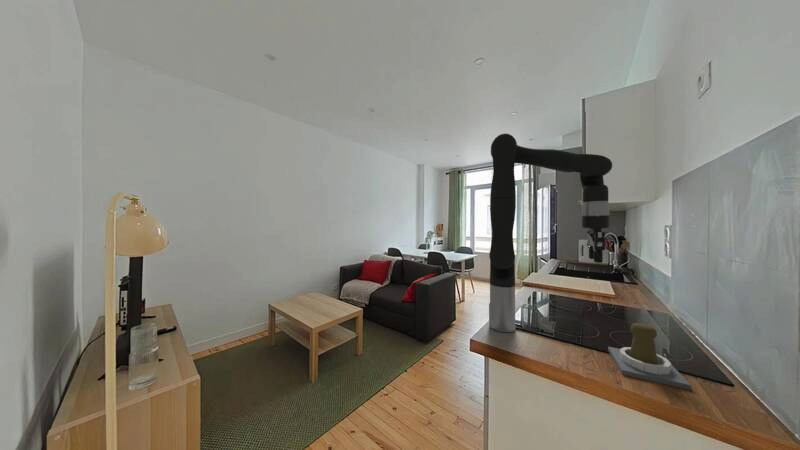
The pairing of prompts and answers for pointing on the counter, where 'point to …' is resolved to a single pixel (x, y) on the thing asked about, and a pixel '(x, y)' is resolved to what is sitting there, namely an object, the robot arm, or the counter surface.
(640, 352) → the cork
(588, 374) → the counter surface
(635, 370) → the stand
